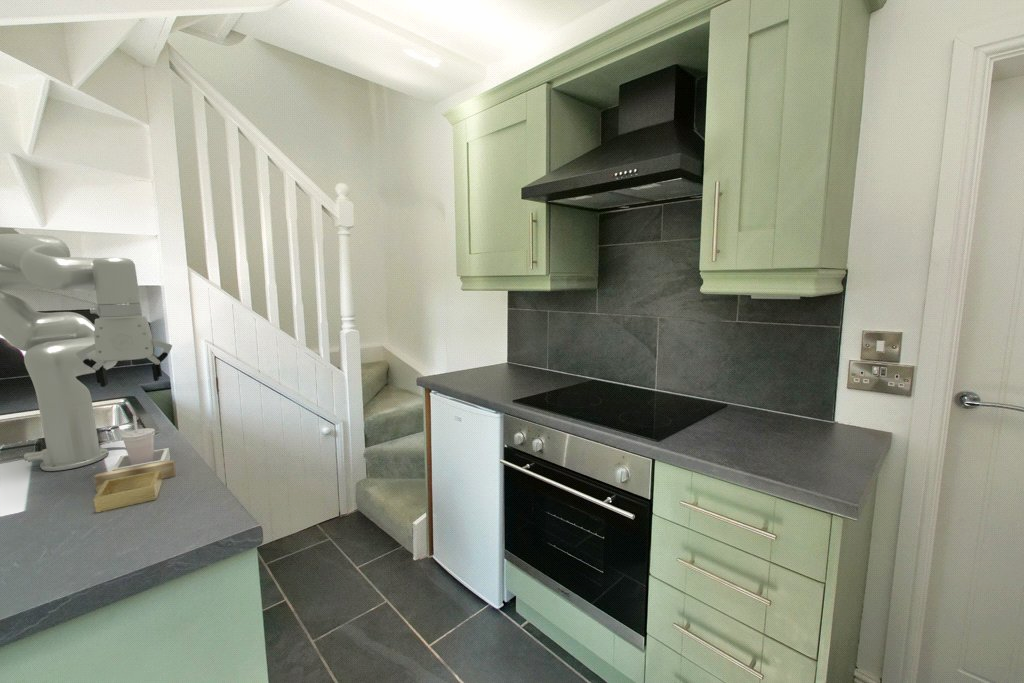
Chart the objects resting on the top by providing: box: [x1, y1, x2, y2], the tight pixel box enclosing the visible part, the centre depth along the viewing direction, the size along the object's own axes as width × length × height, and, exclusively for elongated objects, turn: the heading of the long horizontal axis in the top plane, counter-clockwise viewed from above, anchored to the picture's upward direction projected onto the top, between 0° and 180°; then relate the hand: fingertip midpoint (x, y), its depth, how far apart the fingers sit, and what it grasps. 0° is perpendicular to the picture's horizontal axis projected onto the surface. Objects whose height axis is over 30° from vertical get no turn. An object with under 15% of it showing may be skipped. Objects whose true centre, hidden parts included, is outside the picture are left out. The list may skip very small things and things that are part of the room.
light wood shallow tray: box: [93, 470, 163, 514], centre depth 96 cm, size 10×10×3 cm
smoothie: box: [120, 415, 156, 465], centre depth 108 cm, size 6×6×14 cm
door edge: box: [93, 459, 177, 493], centre depth 103 cm, size 14×2×4 cm, turn 122°
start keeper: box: [111, 447, 171, 471], centre depth 109 cm, size 10×10×3 cm
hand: (131, 382), depth 106 cm, fingers open, 9 cm apart
